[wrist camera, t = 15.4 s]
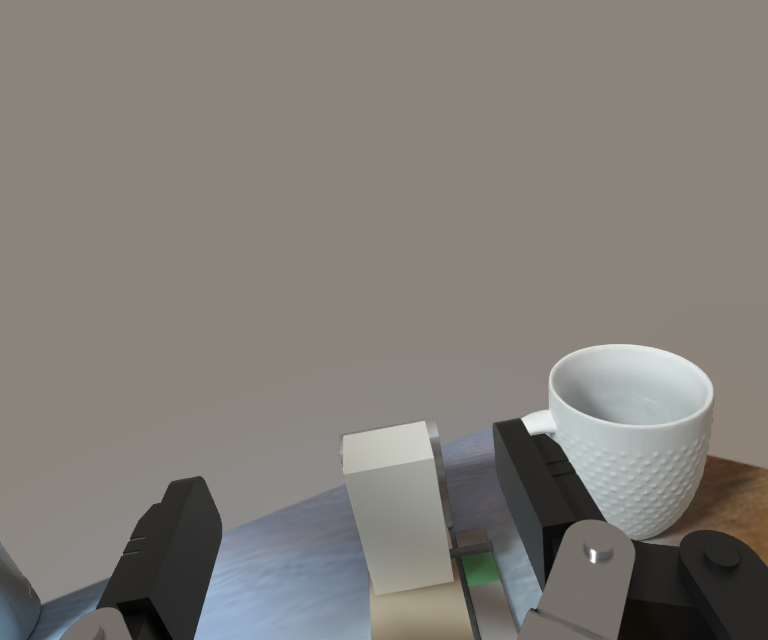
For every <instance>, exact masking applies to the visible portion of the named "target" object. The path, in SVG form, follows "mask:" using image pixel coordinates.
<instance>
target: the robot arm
mask: <svg viewBox="0 0 768 640" xmlns="http://www.w3.org/2000/svg"><path fill="white" fill-rule="evenodd" d="M493 437H494V448H495V458H496V468H497V474H498V478H499V482H500V486H501V489H502V491H503V494H504V496H505V499H506V501H507V504H508V507H509V509H510V512H511V514H512V517H513V519H514V522H515V524H516V527H517V529H518V532H519V534H520V537H521V539H522V542H523V544H524V547H525V550H526V552H527V555H528V557H529V560H530V562H531V565H532V567H533V570H534V572H535V575H536V577H537V580H538V582H539V585H540V588H541V590H542V593H543V594H542V597H541V599H540V602H539V605H538V607H537V608H536V609H533V608H531V609H530V610H529V611H528V613H527V615H526V617H525V619H524V621H523V624H522V626H521V629H520V632H519V634H518V637H517V639H516V640H768V567H767V566H766V565H765V564H764V562H763V561H762V560H761V559H760V558H759V556H758V555H757V554H756V553H755V552H754V551H753V550H752V549H751V548H750V547H749V546H748V545H746V544H745V543H743V542H742V541H740V540H739V539H737V538H735V537H733V536H730V535H728V534H725V533H722V532H718V531H712V530H699V531H694V532H692V533H689V534H688V535H686V536H685V537H684V538H683V539H682V541H681V543H680V547H677V546H667V545H657V544H649V543H643V542H639V541H636V540H633V539H630V538H629V537H628V536H627V535H626V534H625V533H624V532H623V531H622V530H621V529H619V528H618V527H616V526H614V525H612V524H610V523H608V522H607V521H606V519H605V518H604V516H603V515H602V513H601V511H600V510H599V508H598V506H597V505H596V503H595V501H594V500H593V498H592V497H591V495H590V493H589V492H588V490H587V488H586V487H585V485H584V483H583V482H582V480H581V479H580V477H579V475H578V474H576V470H575V469H574V467H573V465H572V464H571V462H569V459H568V457H567V456H566V454H565V452H564V451H563V449H562V447H561V446H560V444H558V443H557V442H555V441H554V440H553V439H551V438H550V437H549V436H547V435H546V434H538V435H533V436H530V434H529V432H528V430H527V428H526V427H525V425H524V423H523V421H522V420H521V419H520V418H518V419H512V420H507V421H501V422H496V423H493ZM221 539H222V522H221V518H220V515H219V513H218V510H217V508H216V505H215V504H214V501H213V498H212V496H211V494H210V491H209V489H208V487H207V484H206V482H205V480H204V479H203V478H202V477H201V476H198V477H192V478H187V479H182V480H176V481H172V482H171V483H170V484H169V486H168V488H167V490H166V493H165V495H164V497H163V499H162V502H161V503H158V504H153V505H152V506H151V508H150V509H149V510H148V511H147V512H146V513H145V514H144V515H143V517H142V518H141V519H140V520H139V521H138V523H137V525H136V527H135V529H134V531H133V533H132V535H131V537H130V542H128V544H127V546H126V548H125V550H124V552H123V556H121V558H120V560H119V562H118V564H117V567H116V568H115V570H114V572H113V574H112V577H111V579H110V581H109V583H108V585H107V587H106V589H105V591H104V593H103V595H102V597H101V599H100V601H99V603H98V605H97V607H96V609H95V610H94V611H92V612H90V613H88V614H86V615H84V616H83V617H81V618H80V619H78V620H77V621H76V622H75V623H74V624H72V625H71V626H70V627H69V628H68V629H67V630H66V631H65V633H64V634H63V635H62V636H61V638H60V639H59V640H194V636H195V633H196V629H197V625H198V622H199V618H200V615H201V611H202V608H203V604H204V600H205V597H206V593H207V590H208V586H209V582H210V579H211V575H212V572H213V568H214V565H215V561H216V557H217V554H218V550H219V547H220V543H221ZM40 610H41V603H40V599H39V597H38V595H37V594H36V592H35V591H34V589H33V588H32V587H31V584H30V582H29V581H28V580H27V578H26V577H25V576H24V575H23V574H22V572H21V571H20V570H19V568H18V567H17V565H16V564H15V562H14V561H13V560H12V558H11V557H10V555H9V554H8V553H7V551H6V550H5V548H4V547H3V545H2V544H1V543H0V640H27V639H28V637H29V635H30V634H31V632H32V631H33V629H34V627H35V625H36V623H37V621H38V618H39V615H40Z"/></svg>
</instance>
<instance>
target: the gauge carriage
mask: <svg viewBox="0 0 768 640" xmlns="http://www.w3.org/2000/svg"><path fill="white" fill-rule="evenodd" d="M343 476H344V480H345V484H346V488H347V491H348V495H349V499H350V503H351V506H352V510H353V514H354V517H355V521H356V525H357V529H358V532H359V536H360V540H361V544H362V547H363V551H364V555H365V558H366V562H367V566H368V570H369V573H370V577H371V581H372V584H373V588H374V592H375V596H377V595H383V594H388V593H394V592H399V591H405V590H410V589H416V588H421V587H427V586H432V585H438V584H443V583H449V582H454V578H453V572H452V566H451V560H450V559H453V558H459V557H464V556H470V555H475V554H481V553H486V552H492V551H493V545H492V542H485V543H480V544H475V545H469V546H464V547H458V548H453V549H449V547H448V541H447V535H446V529H445V523H444V517H443V510H442V504H441V498H440V492H439V486H438V480H437V474H436V468H435V461H434V456H433V452H432V448H431V444H430V440H429V436H428V431H427V427H426V423H425V421H421V422H416V423H410V424H405V425H399V426H394V427H389V428H383V429H378V430H372V431H367V432H362V433H356V434H351V435H345V436H343Z"/></svg>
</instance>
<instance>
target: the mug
mask: <svg viewBox="0 0 768 640" xmlns="http://www.w3.org/2000/svg"><path fill="white" fill-rule="evenodd" d="M548 401H549V410H542V411H538V412H534V413H531V414H529V415H527V416H525V417H523V418H522V419H521V420H522V421H523V423H524V425H525V427H526V428H527V430H528V432H529V434H530V435H532V434H535V433H543V432H544V433H550V437H551V439H553V440H554V441H555V442H557V443H558V444H560V446H561V447H562V449H563V451H564V452H565V454H566V456H567V457H568V459H569V462H571V464H572V465H573V467H574V469H575V470H576V474H578V475H579V477H580V479H581V480H582V482H583V483H584V485H585V487H586V488H587V490H588V492H589V493H590V495H591V497H592V498H593V500H594V501H595V503H596V505H597V506H598V508H599V510H600V511H601V513H602V515H603V516H604V518H605V519H606V521H607V522H608V523H610V524H612V525H614V526H616V527H618V528H619V529H621V530H622V531H623V532H624V533H625V534H626V535H627V536H628V537H629V538H630V539H633V540H644V539H648V538H651V537H654V536H656V535H658V534H660V533H661V532H663V531H665V530H666V529H667V528H669V527H670V526H671V525H672V524H674V523H676V521H677V520H678V518H680V517H681V516H682V515H683V513H684V511H685V510H686V509H687V508H688V506H689V504H690V502H691V501H692V500H693V498H694V496H695V492H696V490H697V488H698V487H699V484H700V480H701V478H702V476H703V473H704V466H705V464H706V457H707V452H708V449H709V439H710V433H711V425H712V421H713V420H712V413H713V405H714V388H713V385H712V383H711V381H710V379H709V377H708V376H707V375H706V374H705V373H704V372H703V371H702V370H701V369H700V368H699V367H697V366H696V365H695V364H693V363H691V362H690V361H688V360H686V359H684V358H682V357H680V356H678V355H676V354H673V353H670V352H667V351H664V350H660V349H656V348H652V347H646V346H639V345H628V344H609V345H599V346H592V347H588V348H584V349H580V350H578V351H575V352H573V353H571V354H569V355H567V356H565V357H564V358H562V359H561V360H560V361H559V362H558V363H557V364H556V365H555V366H554V367H553V369H552V371H551V373H550V376H549V400H548Z"/></svg>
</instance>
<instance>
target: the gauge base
mask: <svg viewBox="0 0 768 640" xmlns="http://www.w3.org/2000/svg"><path fill="white" fill-rule="evenodd" d="M421 421H425V423H426V427H427V431H428V436H429V440H430V444H431V448H432V452H433V456H434V461H435V468H436V474H437V480H438V486H439V492H440V498H441V504H442V510H443V517H444V523H445V529H446V535H447V541H448V547H449V549H453V547H452V543H451V538H450V534H449V530H448V528H450V527H453V523H452V517H451V510H450V504H449V497H448V491H447V484H446V478H445V471H444V465H443V458H442V452H441V445H440V439H439V434H438V430H437V427H436V423H435V419H434V418H428V419H423V420H418V421H413V422H407V423H402V424H396V425H391V426H385V427H380V428H374V429H369V430H363V431H358V432H352V433H347V434H342V435H340V451H339V452H340V454H339V455H340V459H341V462H342V466H343V436H345V435H351V434H356V433H362V432H367V431H372V430H378V429H383V428H389V427H394V426H399V425H405V424H410V423H416V422H421ZM455 537H456V541H457V545H458V547H464V546H469V545H475V544H480V543H485V542H488V539H487V536H486V533H485V530H484V528H479V529H474V530H468V531H463V532H457V533H455ZM450 560H451V566H452V572H453V578H454V582H449V583H443V584H438V585H432V586H427V587H421V588H416V589H410V590H405V591H399V592H394V593H388V594H383V595H377V596H375V592H374V588H373V584H372V581H371V577H370V573H369V570H368V574H369V595H370V616H371V637H372V640H474V636H473V631H472V627H471V623H470V619H469V615H468V610H467V606H466V602H465V598H464V593H463V589H462V585H461V581H460V576H459V572H458V568H457V564H456V559H455V558H453V559H450ZM461 561H462V565H463V569H464V573H465V577H466V581H467V585H468V589H469V593H470V597H471V601H472V605H473V609H474V613H475V617H476V621H477V625H478V629H479V633H480V637H481V640H516V639H517V637H518V633H517V630H516V627H515V624H514V621H513V618H512V615H511V612H510V608H509V605H508V602H507V599H506V596H505V593H504V590H503V586H502V583H501V580H500V577H499V574H498V571H497V568H496V564H495V561H494V558H493V555H492V552H486V553H481V554H475V555H470V556H464V557H461Z"/></svg>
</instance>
